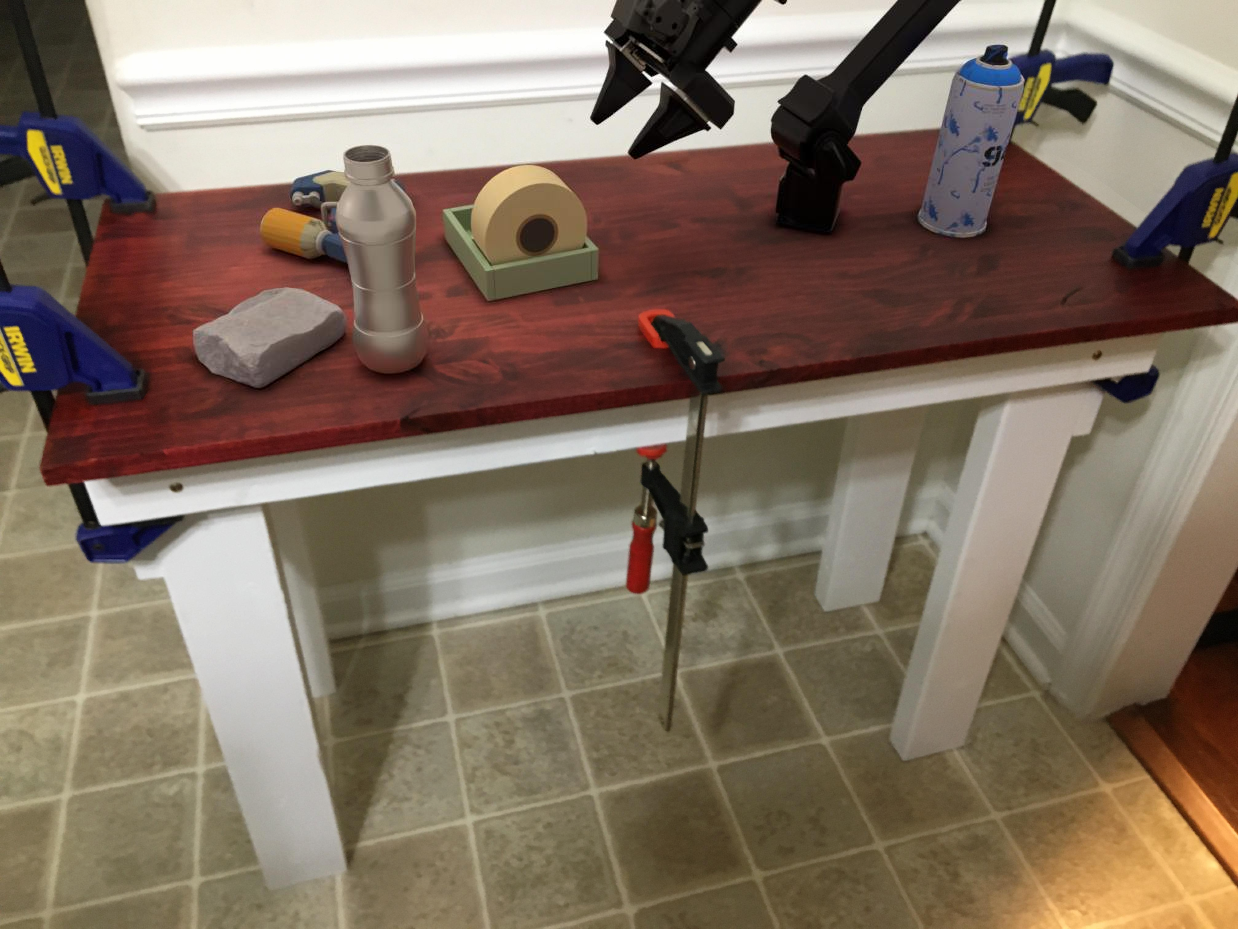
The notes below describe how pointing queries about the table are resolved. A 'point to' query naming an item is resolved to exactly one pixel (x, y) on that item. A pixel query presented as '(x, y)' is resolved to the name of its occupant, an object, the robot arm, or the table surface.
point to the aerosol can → (972, 144)
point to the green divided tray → (516, 262)
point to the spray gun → (309, 218)
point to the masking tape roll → (527, 216)
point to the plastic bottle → (381, 262)
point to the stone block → (268, 335)
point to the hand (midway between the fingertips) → (611, 138)
